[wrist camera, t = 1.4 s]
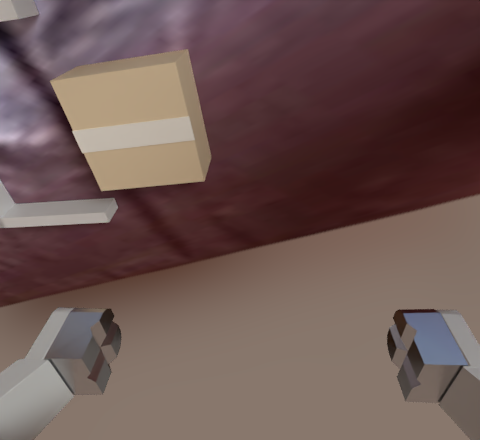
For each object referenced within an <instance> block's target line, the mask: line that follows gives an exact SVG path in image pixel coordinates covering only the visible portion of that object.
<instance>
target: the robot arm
mask: <svg viewBox="0 0 480 440" xmlns="http://www.w3.org/2000/svg"><path fill="white" fill-rule="evenodd" d="M113 318H114V314H113V312H112V310H111V309H102V308H61V307H60V308H59V307H58V308H57V309H56V310H55V311H54V312H52V314H51V316H50V317H49V319H48V321H47V322H46V324H45V325H44V327H43V329H42V330H41V332H40V334H39V335H38V337H37V339H36V340H35V342H34V344H33V345H32V347H31V348H30V350H29V352H28V353H27V355H26V357H25V358H24V359H19V360H17V361H16V362H14V363H13V364H12V365H11V366H9V367H8V368H7V369H5V370H4V371H2V372H1V373H0V440H34V439H35V438H36V437H37V436H38V434H40V432H41V431H42V430H43V429H44V428H45V427H46V426H47V425H48V424H49V423H50V422H51V420H53V418H54V417H55V416H56V415H57V414H58V413H59V412H60V411H61V410H62V409H63V408H64V406H66V404H67V403H68V402H69V401H70V400H71V399H72V398H73V397H74V395H77V394H78V395H89V394H90V395H92V394H94V395H95V394H103V393H104V390H105V387H106V385H107V382H108V380H109V377H110V374H111V369H110V366H109V364H110V363H111V362H112V361H113V360H114V359H115V358H116V357H117V355H118V352H119V349H120V344H121V331H120V328H119V326H118V325H117V324H116V323H114V322H113V321H112V320H113ZM393 319H394V321H395V324H394V325H393V326H392V327H390V328H389V331H388V335H387V345H388V351H389V355H390V358H391V361H392V362H393V363H394V364H395V365H396V366H397V367H398V368H400V371H399V373H398V376H397V378H398V381H399V384H400V387H401V390H402V393H403V396H404V398H405V401H408V402H428V403H439V406H440V407H441V408H442V409H443V410H444V411H445V412H446V413H447V415H448V416H449V417H450V418H451V419H452V420H453V421H454V422H455V423H456V424H457V426H458V427H459V428H460V429H461V430H462V431H463V432H464V433H465V434H466V435H467V436H468V437H469V439H470V440H480V345H479V344H478V342H477V341H476V339H475V337H474V336H473V334H472V332H471V331H470V329H469V327H468V325H467V324H466V322H465V320H464V319H463V317H462V315H461V314H460V313H459V312H458V311H457V310H434V309H418V310H417V309H415V310H397V311H396V312H395V314H394V317H393Z"/></svg>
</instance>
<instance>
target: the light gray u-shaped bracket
mask: <svg viewBox="0 0 480 440" xmlns="http://www.w3.org/2000/svg"><path fill="white" fill-rule="evenodd" d="M35 15H39V12H38V10H37V7H36V5H35V3H34V0H0V22H2V21H9V20H16V19H22V18H26V17H31V16H35ZM117 209H118V206H117V203H116V201H115V199H114V198H104V199H88V200H72V201H56V202H40V203H25V204H15V203H14V201H13V199H12V198H11V196H10V195H9V193H8V192H7V190H6V188H5V187H4V185H3V184H2V182H1V180H0V228H13V227H31V226H50V225H69V224H87V223H106V222H110V220H111V218H112V217H113V215H114V214H115V212H116V210H117Z"/></svg>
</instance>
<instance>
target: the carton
mask: <svg viewBox="0 0 480 440" xmlns="http://www.w3.org/2000/svg"><path fill="white" fill-rule="evenodd" d="M50 82H51V84H52V87H53V89H54V91H55V93H56V95H57V97H58V99H59V102H60V104H61V106H62V108H63V110H64V112H65V114H66V116H67V119H68V121H69V123H70V125H71V127H72V129H73V131H72V133H73V135H74V137H75V139H76V141H77V143H78V145H79V147H80V150H81V152H82V153H84V155H85V157H86V159H87V161H88V164H89V166H90V168H91V170H92V172H93V174H94V176H95V179H96V181H97V183H98V185H99V187H100V189H101V191H109V190H119V189H129V188H140V187H150V186H161V185H171V184H181V183H192V182H202V181H205V178H206V174H207V171H208V168H209V164H210V161H211V153H210V148H209V144H208V139H207V135H206V130H205V126H204V121H203V116H202V112H201V107H200V103H199V98H198V94H197V89H196V85H195V80H194V75H193V71H192V66H191V62H190V57H189V53H188V49H186V50H179V51H173V52H166V53H160V54H153V55H147V56H141V57H134V58H128V59H121V60H115V61H108V62H102V63H96V64H89V65H83V66H77V67H75V68H73V69H72V70H70V71H68V72H66V73H64V74H62V75H60V76H59V77H57V78H55V79H53V80H51V81H50Z"/></svg>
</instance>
